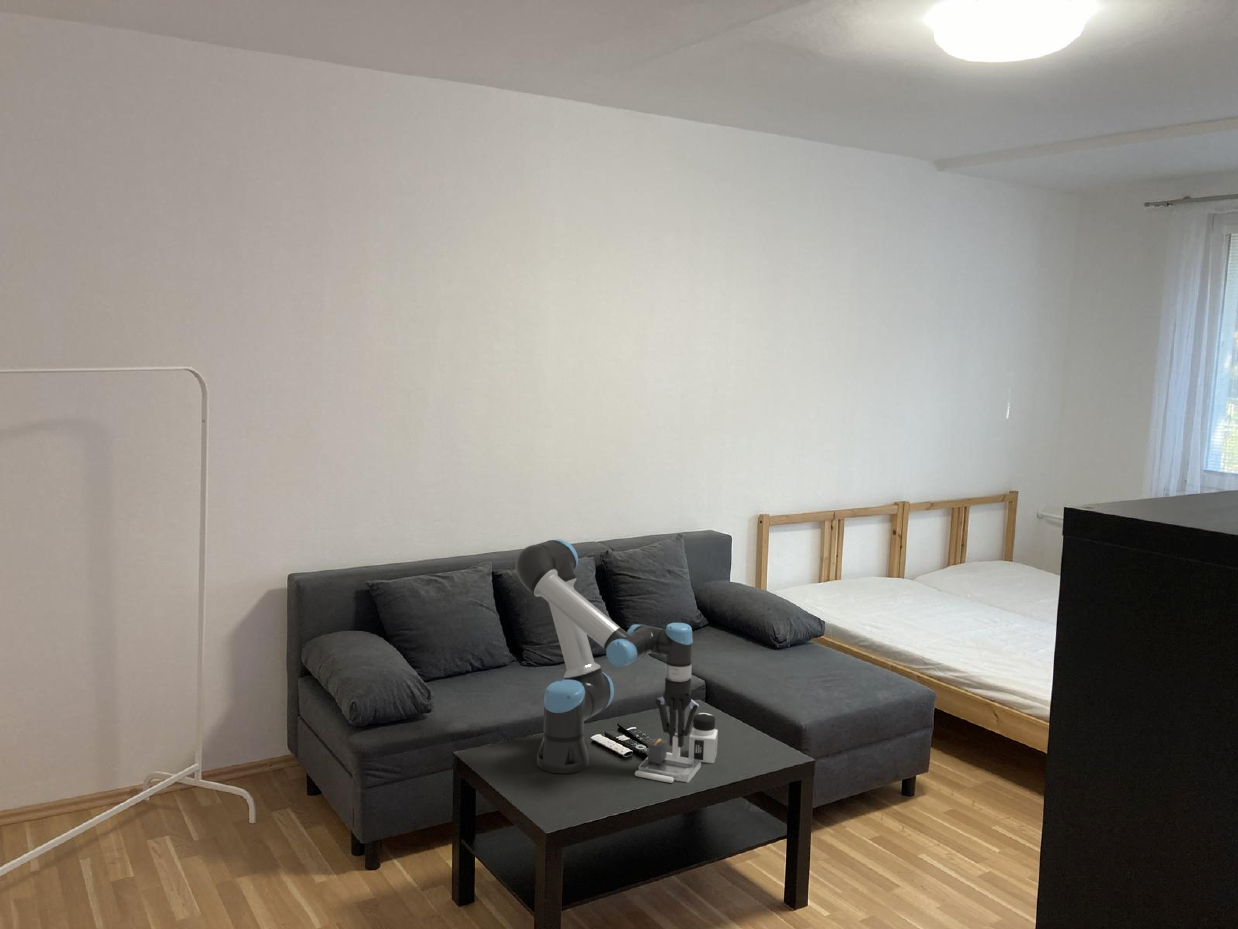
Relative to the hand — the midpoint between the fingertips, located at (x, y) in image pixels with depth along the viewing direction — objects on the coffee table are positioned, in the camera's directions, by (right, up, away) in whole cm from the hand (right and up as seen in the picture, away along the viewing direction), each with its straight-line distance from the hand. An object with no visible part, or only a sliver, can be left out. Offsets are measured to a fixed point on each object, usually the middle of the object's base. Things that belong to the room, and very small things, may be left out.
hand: (676, 757), depth 288 cm
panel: (-2, -4, +1) cm, 5 cm away
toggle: (-5, -1, +2) cm, 6 cm away
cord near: (-6, -5, -6) cm, 10 cm away
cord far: (-4, -3, +11) cm, 12 cm away
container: (+9, -4, +11) cm, 14 cm away
